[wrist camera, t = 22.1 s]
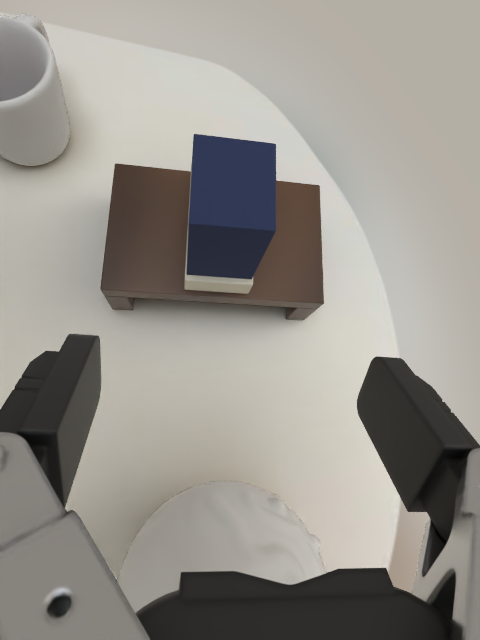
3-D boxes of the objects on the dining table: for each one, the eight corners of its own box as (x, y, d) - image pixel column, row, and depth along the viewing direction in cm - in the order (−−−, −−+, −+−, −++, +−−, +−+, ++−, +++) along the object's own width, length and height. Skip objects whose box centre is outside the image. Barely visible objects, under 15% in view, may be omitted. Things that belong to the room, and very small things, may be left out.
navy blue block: (248, 294, 28) (278, 238, 20) (184, 290, 28) (185, 230, 19) (250, 185, 31) (277, 92, 22) (190, 178, 30) (195, 80, 21)
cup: (12, 67, 36) (-34, -30, 28) (100, 89, 36) (79, 1, 29) (-30, 166, 33) (-94, 88, 25) (66, 188, 34) (33, 119, 26)
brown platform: (112, 309, 32) (100, 289, 27) (124, 199, 34) (114, 163, 29) (303, 320, 34) (324, 303, 29) (301, 216, 36) (319, 185, 31)
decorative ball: (327, 551, 29) (420, 635, 18) (212, 700, 26) (238, 920, 15) (216, 435, 30) (237, 444, 19) (92, 565, 27) (26, 671, 16)
